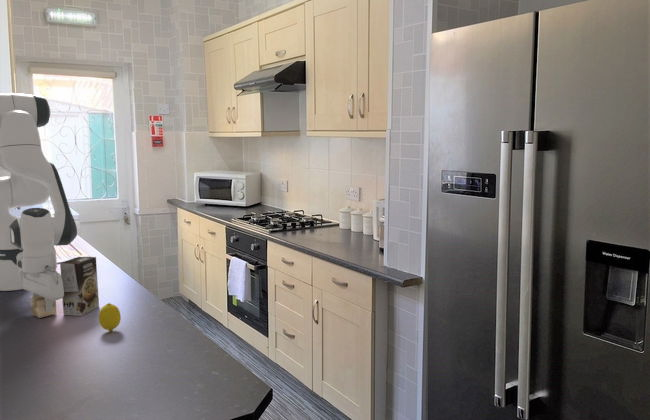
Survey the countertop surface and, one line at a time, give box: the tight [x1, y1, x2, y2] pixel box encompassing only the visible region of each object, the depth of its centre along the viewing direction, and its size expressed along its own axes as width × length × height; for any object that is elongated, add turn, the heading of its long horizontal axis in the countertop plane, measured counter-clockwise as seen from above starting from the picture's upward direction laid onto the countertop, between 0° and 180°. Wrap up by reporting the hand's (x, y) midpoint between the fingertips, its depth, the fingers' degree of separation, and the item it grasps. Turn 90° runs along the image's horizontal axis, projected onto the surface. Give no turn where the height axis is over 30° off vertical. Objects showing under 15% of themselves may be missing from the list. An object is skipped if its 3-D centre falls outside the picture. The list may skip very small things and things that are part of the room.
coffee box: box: [59, 256, 100, 317], centre depth 167 cm, size 9×6×16 cm
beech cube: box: [30, 296, 58, 319], centre depth 164 cm, size 5×5×5 cm
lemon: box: [98, 302, 122, 332], centre depth 150 cm, size 6×6×8 cm
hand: (43, 308), depth 164 cm, fingers closed on beech cube, 5 cm apart
